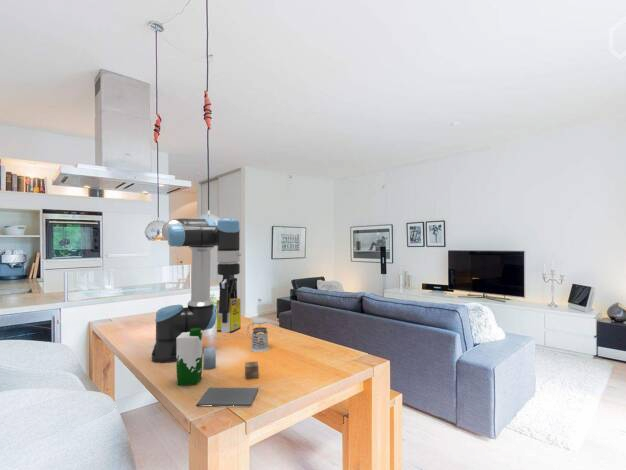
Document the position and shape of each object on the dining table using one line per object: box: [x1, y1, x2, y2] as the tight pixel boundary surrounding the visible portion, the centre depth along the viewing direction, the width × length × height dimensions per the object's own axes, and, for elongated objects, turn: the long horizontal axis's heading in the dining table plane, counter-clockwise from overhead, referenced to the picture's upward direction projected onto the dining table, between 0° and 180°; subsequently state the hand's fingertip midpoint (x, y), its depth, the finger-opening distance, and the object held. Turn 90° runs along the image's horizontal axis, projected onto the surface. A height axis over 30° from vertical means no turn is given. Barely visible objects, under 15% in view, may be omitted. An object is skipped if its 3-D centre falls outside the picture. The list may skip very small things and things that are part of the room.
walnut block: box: [244, 361, 259, 381], centre depth 133 cm, size 5×5×5 cm
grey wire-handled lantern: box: [246, 298, 270, 353], centre depth 167 cm, size 10×12×25 cm
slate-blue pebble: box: [202, 346, 217, 371], centre depth 142 cm, size 5×5×8 cm
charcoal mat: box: [196, 387, 259, 407], centre depth 115 cm, size 18×12×1 cm, turn 88°
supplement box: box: [216, 297, 242, 334], centre depth 116 cm, size 6×6×11 cm
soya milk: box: [176, 328, 203, 386], centre depth 128 cm, size 9×9×20 cm
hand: (228, 329), depth 115 cm, fingers closed on supplement box, 7 cm apart
